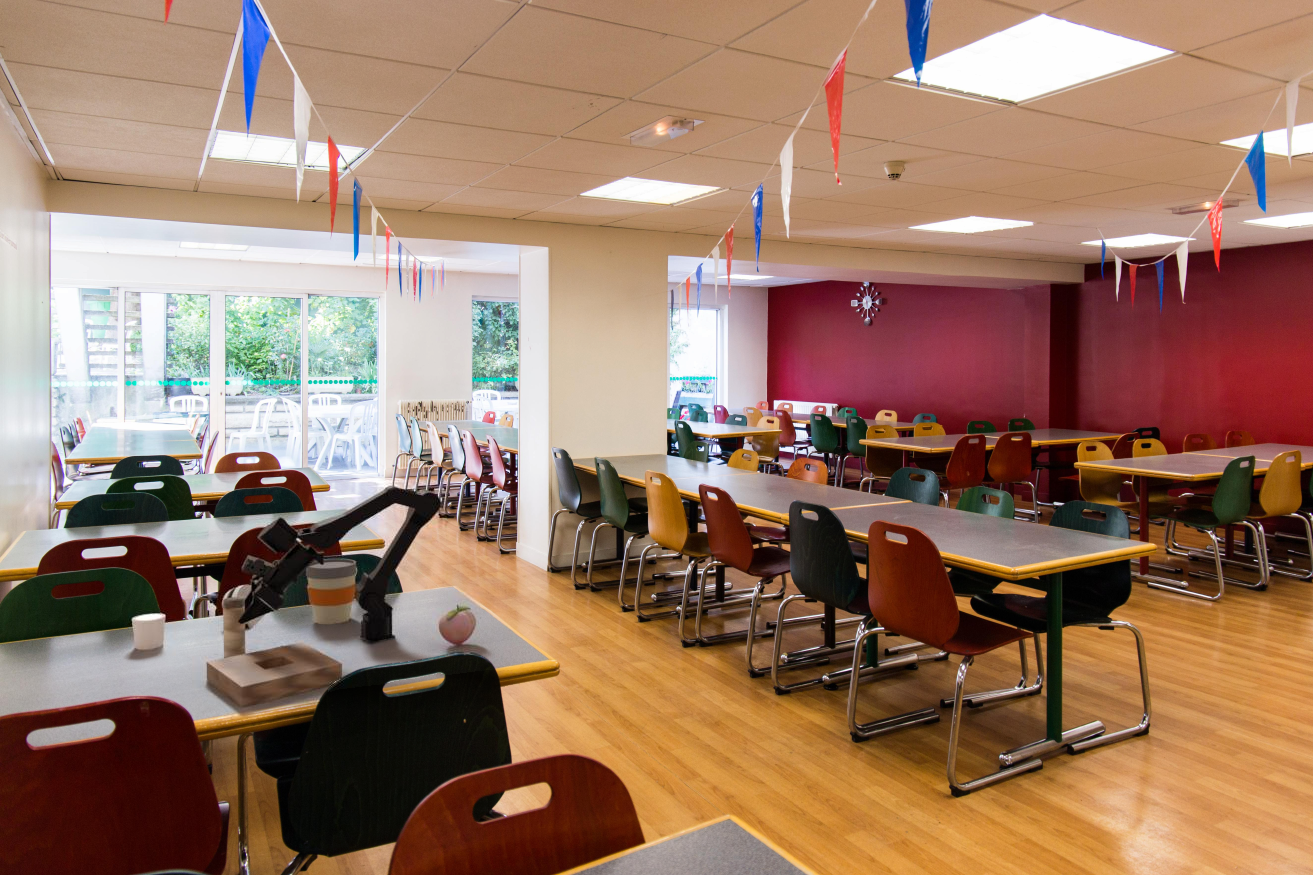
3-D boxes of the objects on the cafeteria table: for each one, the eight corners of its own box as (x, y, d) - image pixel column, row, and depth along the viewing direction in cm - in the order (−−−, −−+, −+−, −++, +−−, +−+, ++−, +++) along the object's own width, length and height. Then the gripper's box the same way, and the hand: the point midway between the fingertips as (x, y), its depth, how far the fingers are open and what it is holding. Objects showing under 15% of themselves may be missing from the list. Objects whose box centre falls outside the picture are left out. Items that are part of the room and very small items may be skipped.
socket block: (302, 659, 193) (302, 642, 193) (342, 682, 179) (341, 663, 179) (206, 680, 179) (206, 661, 179) (242, 706, 165) (241, 686, 165)
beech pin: (241, 651, 198) (240, 595, 197) (248, 655, 195) (247, 599, 194) (221, 655, 195) (220, 599, 194) (227, 659, 192) (227, 602, 191)
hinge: (251, 628, 216) (236, 592, 215) (232, 635, 215) (217, 599, 214) (268, 610, 233) (254, 577, 231) (250, 617, 232) (236, 583, 231)
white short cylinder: (170, 645, 201) (169, 616, 201) (137, 652, 196) (136, 622, 196) (160, 639, 206) (160, 611, 205) (128, 645, 201) (127, 616, 200)
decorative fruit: (449, 638, 210) (449, 598, 210) (480, 641, 209) (480, 600, 208) (431, 650, 201) (431, 608, 200) (464, 652, 199) (464, 610, 199)
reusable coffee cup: (322, 611, 232) (321, 557, 231) (365, 614, 231) (365, 559, 230) (296, 624, 220) (296, 567, 219) (342, 627, 218) (342, 569, 217)
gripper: (262, 536, 205) (211, 586, 200) (266, 550, 188) (210, 605, 184) (298, 566, 209) (248, 615, 204) (305, 583, 192) (251, 637, 188)
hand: (239, 617), depth 195 cm, fingers open, 9 cm apart
